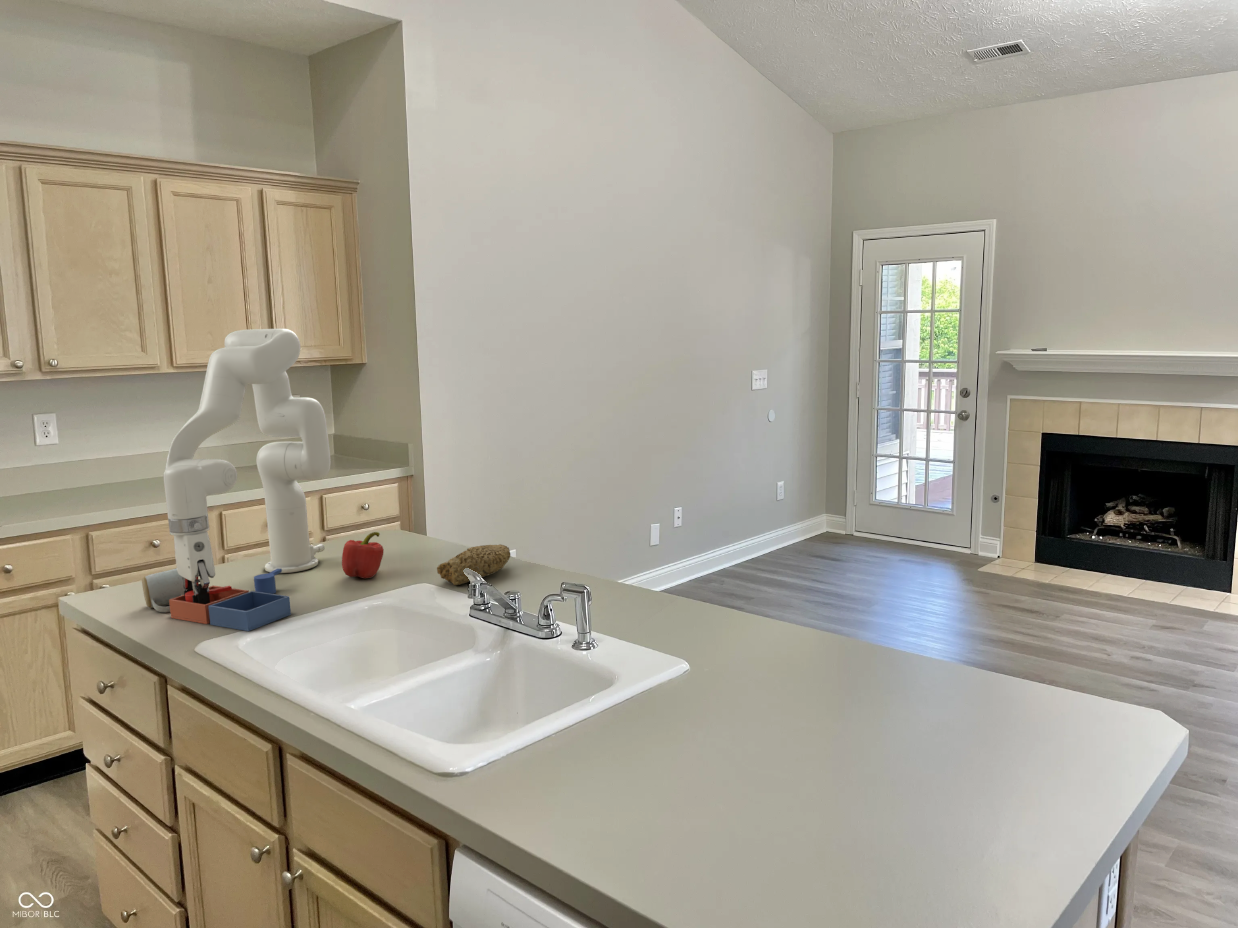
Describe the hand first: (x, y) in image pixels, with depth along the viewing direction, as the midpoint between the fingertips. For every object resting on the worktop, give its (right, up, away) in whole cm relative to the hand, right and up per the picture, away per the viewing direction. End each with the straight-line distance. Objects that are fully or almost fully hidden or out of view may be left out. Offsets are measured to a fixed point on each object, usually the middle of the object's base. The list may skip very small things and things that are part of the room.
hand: (198, 608), depth 191 cm
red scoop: (+2, 0, +2) cm, 2 cm away
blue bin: (+13, -2, -4) cm, 13 cm away
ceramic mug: (-10, -1, +8) cm, 13 cm away
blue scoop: (+9, +2, +18) cm, 20 cm away
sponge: (+55, +4, +23) cm, 60 cm away
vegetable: (+28, +3, +27) cm, 38 cm away
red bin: (+2, -1, +2) cm, 3 cm away
